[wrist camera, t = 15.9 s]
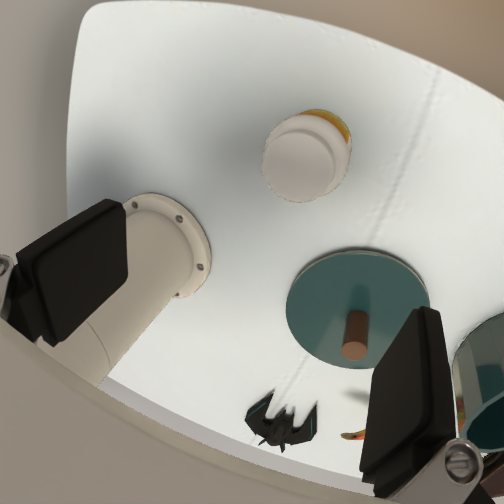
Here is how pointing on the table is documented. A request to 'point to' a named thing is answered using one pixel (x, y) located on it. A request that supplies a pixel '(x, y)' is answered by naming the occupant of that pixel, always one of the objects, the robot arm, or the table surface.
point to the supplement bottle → (307, 156)
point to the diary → (493, 474)
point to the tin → (481, 386)
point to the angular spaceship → (279, 426)
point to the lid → (352, 306)
